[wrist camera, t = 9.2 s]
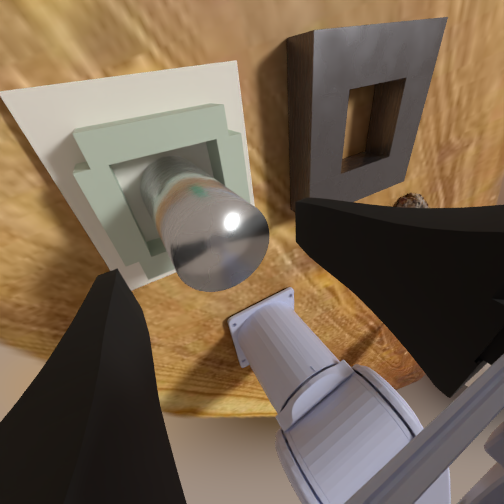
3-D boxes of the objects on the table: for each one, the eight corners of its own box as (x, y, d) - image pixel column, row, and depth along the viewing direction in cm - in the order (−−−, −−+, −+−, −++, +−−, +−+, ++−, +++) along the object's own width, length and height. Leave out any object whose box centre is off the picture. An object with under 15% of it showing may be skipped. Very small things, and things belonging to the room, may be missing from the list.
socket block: (381, 174, 25) (403, 181, 23) (290, 209, 21) (309, 220, 20) (412, 24, 18) (447, 17, 16) (286, 38, 15) (314, 30, 13)
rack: (255, 235, 21) (271, 249, 19) (124, 288, 17) (127, 311, 16) (232, 61, 14) (253, 56, 12) (1, 91, 10) (-20, 91, 8)
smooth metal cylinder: (210, 207, 17) (272, 268, 11) (154, 227, 16) (190, 306, 10) (196, 148, 15) (265, 186, 9) (128, 165, 13) (156, 223, 8)
